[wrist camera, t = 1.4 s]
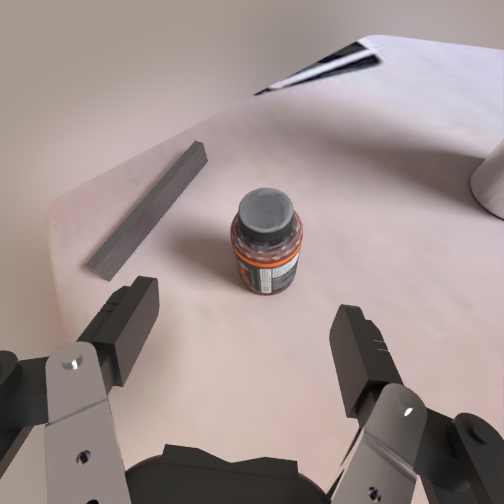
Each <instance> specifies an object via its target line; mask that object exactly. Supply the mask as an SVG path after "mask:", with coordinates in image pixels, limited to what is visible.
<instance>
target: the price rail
mask: <svg viewBox="0 0 504 504" xmlns="http://www.w3.org/2000/svg"><path fill="white" fill-rule="evenodd" d="M207 161H208V160H207V156H206V153H205V149H204V145H203V143H201V142H198V141H195V142H194V143H193V144H192V145H191V146H190V147H189V148H188V150H187V151H186V152H185V153H184V154H183V155H182V156H181V157H180V159H179V160H178V161H177V162H176V163H175V164H174V165H173V167H172V168H171V169H170V170H169V171H168V172H167V173H166V175H165V176H164V177H163V178H162V179H161V180H160V181H159V182H158V184H157V185H156V186H155V187H154V188H153V189H152V190H151V192H150V193H149V194H148V195H147V196H146V197H145V198H144V200H143V201H142V202H141V203H140V204H139V205H138V206H137V207H136V209H135V210H134V211H133V212H132V213H131V214H130V215H129V217H128V218H127V219H126V220H125V221H124V222H123V223H122V225H121V226H120V227H119V228H118V229H117V230H116V231H115V233H114V234H113V235H112V236H111V237H110V238H109V239H108V240H107V242H106V243H105V244H104V245H103V246H102V247H101V248H100V250H99V251H98V252H97V253H96V254H95V255H94V256H93V258H92V259H91V260H90V261H89V262H88V263H87V264H86V266H87V267H89V268H90V269H91V270H93V271H94V272H96V273H97V274H98V275H100V276H101V277H103V278H105V279H106V280H108V281H110V280H111V279H112V278H113V277H114V275H115V274H116V273H117V272H118V271H119V269H120V268H121V267H122V266H123V264H124V263H125V262H126V261H127V259H128V258H129V257H130V256H131V255H132V253H133V252H134V251H135V250H136V248H137V247H138V246H139V245H140V244H141V242H142V241H143V240H144V239H145V237H146V236H147V235H148V234H149V233H150V231H151V230H152V229H153V228H154V226H155V225H156V224H157V223H158V221H159V220H160V219H161V218H162V217H163V215H164V214H165V213H166V212H167V210H168V209H169V208H170V207H171V206H172V204H173V203H174V202H175V201H176V199H177V198H178V197H179V196H180V194H181V193H182V192H183V191H184V190H185V188H186V187H187V186H188V185H189V183H190V182H191V181H192V180H193V179H194V177H195V176H196V175H197V174H198V172H199V171H200V170H201V169H202V168H203V166H204V165H205V164H206V163H207Z"/></svg>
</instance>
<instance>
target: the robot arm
mask: <svg viewBox="0 0 504 504" xmlns="http://www.w3.org/2000/svg"><path fill="white" fill-rule="evenodd" d="M470 184H471V190H472V192H473V194H474V196H475V198H476V199H477V201H478V202H479V203H480V204H481V205H482V206H483V207H485V208H486V209H487V210H488V211H490V212H491V213H493V214H495V215H497V216H498V217H501V218H503V219H504V139H503V141H502V142H501V143H500V144H499V145H498V146H497V147H496V148H495V149H494V150H493V152H492V153H491V154H490V155H489V156H488V157H487V158H486V159H485V160H484V162H483V163H482V164H481V165H480V166H479V167H478V168H477V169H476V171H475V172H474V173H473V175H472V177H471V181H470ZM158 312H159V291H158V280H157V278H151V277H144V276H138V277H137V278H136V279H135V281H134V282H133V284H132V285H131V286H130V287H129V286H123V287H121V288H120V289H118V290H117V291H115V292H114V293H113V294H112V295H111V296H110V298H109V299H108V300H107V302H106V304H104V305H103V307H102V308H101V309H100V312H98V313H97V315H96V316H95V317H94V319H93V320H92V321H91V323H90V324H89V325H88V326H87V328H86V329H85V330H84V332H83V333H82V334H81V336H80V337H79V338H78V340H77V341H76V342H73V343H69V344H66V345H64V346H62V347H60V348H59V349H58V350H56V351H55V352H54V353H53V354H51V356H48V357H43V358H35V359H28V360H21V361H19V360H18V358H17V356H16V355H15V354H14V353H13V352H10V351H0V479H1V477H2V476H3V474H4V473H5V471H6V469H7V468H8V466H9V465H10V463H11V462H12V460H13V458H14V457H15V455H16V454H17V452H18V450H19V449H20V447H21V446H22V444H23V443H24V441H25V439H26V438H27V436H28V435H29V433H30V431H31V430H32V428H33V427H34V426H35V425H40V424H44V423H48V424H46V425H45V430H44V432H45V433H44V437H45V438H44V439H45V457H46V458H45V459H46V479H47V500H48V504H411V500H412V496H413V492H414V488H415V484H416V479H417V474H418V475H420V478H421V481H422V484H423V487H424V490H425V493H426V496H427V499H428V502H429V504H504V440H503V438H502V437H501V436H500V434H499V433H498V432H497V431H496V430H495V429H494V428H493V427H492V426H491V425H490V424H489V423H487V422H486V421H484V420H483V419H481V418H480V417H478V416H476V415H473V414H470V413H460V414H458V415H457V416H456V417H455V418H454V419H452V418H449V417H447V416H445V415H442V414H440V413H438V412H435V411H433V410H431V409H429V408H427V407H425V405H424V403H423V401H422V400H421V399H420V397H419V396H418V395H417V394H416V393H414V392H413V391H412V390H411V389H409V388H407V387H405V386H404V384H403V382H402V380H401V377H400V375H399V373H398V371H397V368H396V366H395V364H394V362H393V359H392V357H391V355H390V353H389V352H388V348H387V346H386V344H385V343H384V339H383V337H382V335H381V332H380V330H379V329H378V328H377V327H376V326H375V325H374V323H373V322H372V321H371V320H365V318H364V315H363V313H362V310H361V308H360V307H358V306H351V305H343V304H341V305H340V306H339V309H338V311H337V314H336V316H335V319H334V321H333V324H332V327H331V329H330V336H329V340H330V346H331V350H332V355H333V359H334V363H335V368H336V372H337V377H338V381H339V385H340V390H341V394H342V398H343V403H344V407H345V412H346V416H347V417H348V418H356V419H358V423H359V428H358V429H357V431H356V433H355V435H354V437H353V439H352V441H351V443H350V445H349V447H348V449H347V451H346V453H345V455H344V457H343V459H342V461H341V463H340V465H339V467H338V469H337V471H336V473H335V475H334V477H333V479H332V480H331V482H330V484H329V486H328V488H327V489H326V491H325V492H324V491H323V490H322V489H321V488H320V487H319V486H318V485H317V484H315V483H314V482H313V481H312V480H311V479H309V478H308V477H306V476H304V475H303V474H301V473H299V472H298V466H297V461H293V460H285V459H277V458H269V457H262V458H256V459H251V460H245V461H240V462H234V463H230V462H227V461H224V460H222V459H220V458H218V457H216V456H214V455H211V454H209V453H207V452H205V451H203V450H200V449H198V448H192V447H184V446H176V445H168V444H165V447H164V450H163V454H162V455H157V456H154V457H151V458H148V459H145V460H143V461H141V462H139V463H137V464H136V465H134V466H132V467H131V468H129V469H128V470H127V471H125V467H124V463H123V459H122V455H121V451H120V447H119V443H118V439H117V434H116V430H115V426H114V422H113V417H112V413H111V409H110V405H109V401H108V394H109V392H110V390H111V388H112V386H120V387H123V386H124V384H125V382H126V380H127V378H128V376H129V374H130V372H131V369H132V367H133V365H134V363H135V361H136V359H137V357H138V355H139V353H140V351H141V349H142V347H143V345H144V343H145V341H146V339H147V337H148V335H149V333H150V331H151V329H152V327H153V325H154V323H155V321H156V319H157V316H158Z"/></svg>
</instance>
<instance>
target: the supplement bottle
mask: <svg viewBox="0 0 504 504" xmlns="http://www.w3.org/2000/svg"><path fill="white" fill-rule="evenodd" d="M230 233H231V241H232V245H233V249H234V253H235V256H236V260H237V264H238V268H239V272H240V276H241V278H242V280H243V282H244V283H245V285H246V286H247V287H248V288H249V289H250V290H252V291H254V292H255V293H257V294H260V295H275V294H278V293H280V292H282V291H284V290H285V289H286V288H288V286H289V285H290V284H291V283H292V281H293V279H294V276H295V273H296V268H297V263H298V258H299V253H300V248H301V242H302V237H303V227H302V222H301V220H300V218H299V216H298V214H297V213H296V212H295V210H294V209H293V204H292V202H291V200H290V198H289V197H288V196H287V195H286V194H285V193H283V192H281V191H279V190H277V189H273V188H260V189H256V190H254V191H252V192H250V193H248V194H247V195H246V196H245V197H244V198H243V199H242V200H241V202H240V205H239V210H238V213H237V214H236V215H235V217H234V219H233V221H232V224H231V232H230Z"/></svg>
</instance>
